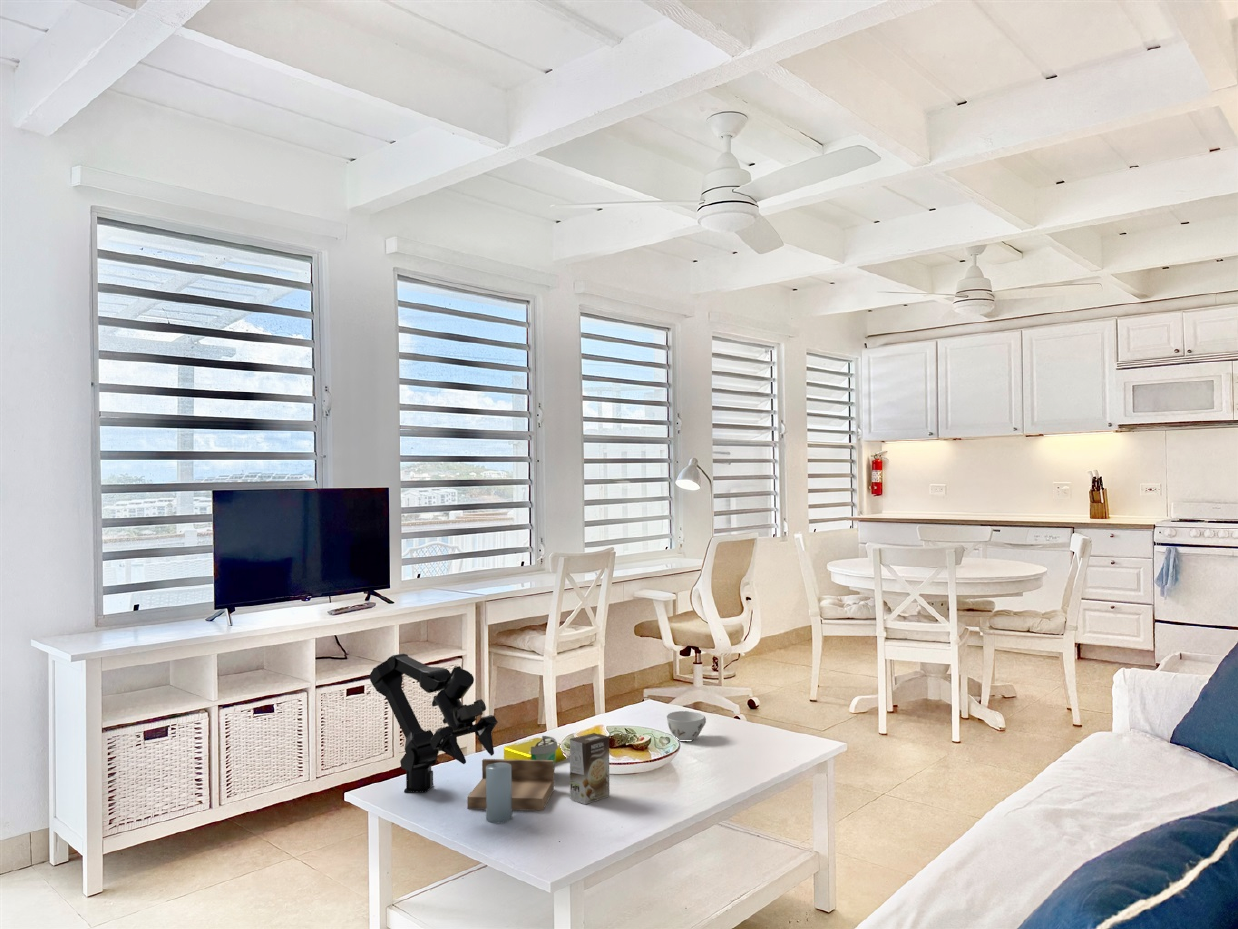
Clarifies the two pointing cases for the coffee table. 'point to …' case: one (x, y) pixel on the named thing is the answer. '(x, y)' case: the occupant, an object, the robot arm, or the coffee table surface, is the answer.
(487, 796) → the frosted glass cup
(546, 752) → the food container
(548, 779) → the shelf
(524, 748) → the yellow bowl
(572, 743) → the coffee box
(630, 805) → the coffee table surface
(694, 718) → the teacup
